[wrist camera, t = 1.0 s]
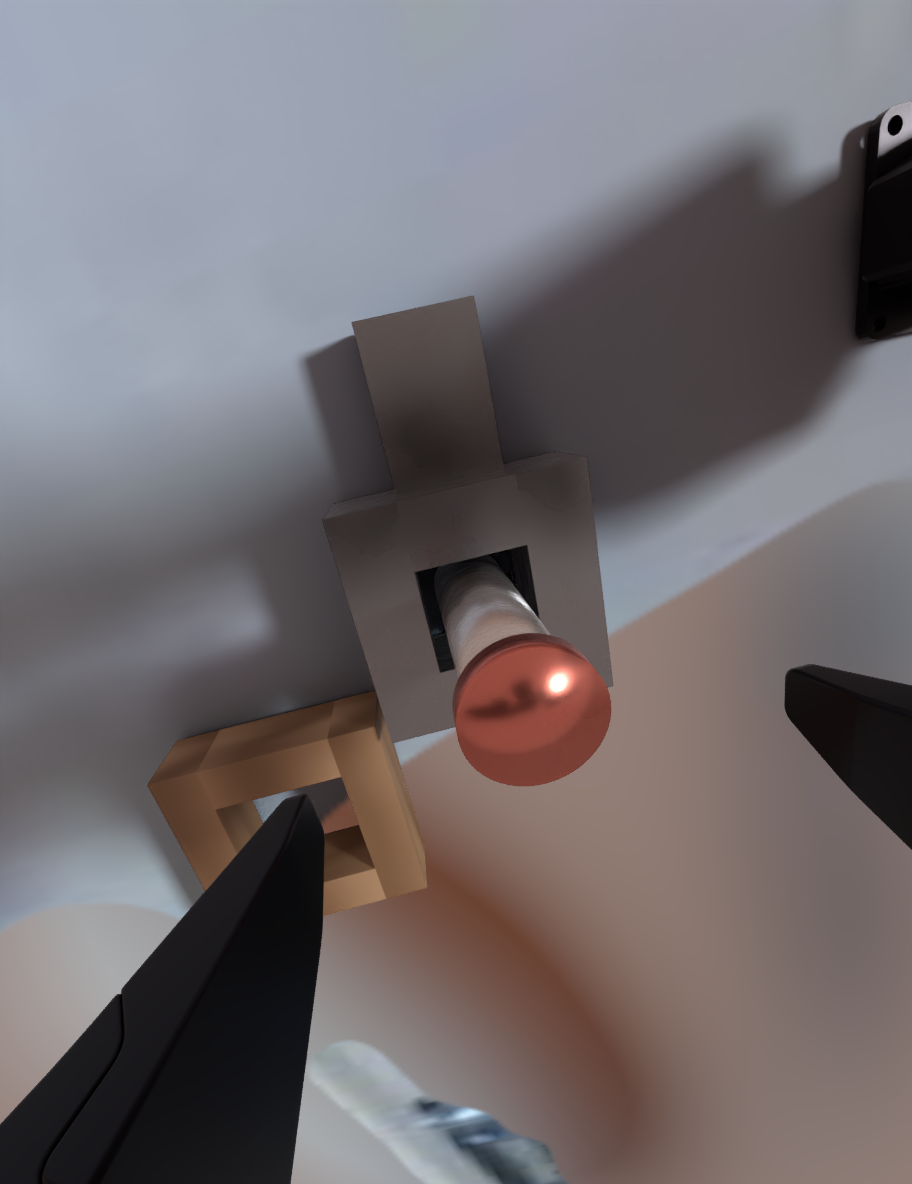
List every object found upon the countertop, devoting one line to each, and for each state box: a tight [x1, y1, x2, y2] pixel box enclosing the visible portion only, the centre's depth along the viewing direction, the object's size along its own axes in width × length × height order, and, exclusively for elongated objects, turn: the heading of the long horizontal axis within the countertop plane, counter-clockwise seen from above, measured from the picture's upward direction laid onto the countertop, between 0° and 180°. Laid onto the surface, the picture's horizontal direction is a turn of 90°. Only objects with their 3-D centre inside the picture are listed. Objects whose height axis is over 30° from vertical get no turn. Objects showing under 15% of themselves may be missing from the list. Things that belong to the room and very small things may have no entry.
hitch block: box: [322, 296, 613, 743], centre depth 16 cm, size 8×13×3 cm, turn 12°
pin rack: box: [148, 690, 427, 916], centre depth 20 cm, size 8×8×2 cm
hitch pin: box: [434, 554, 611, 786], centre depth 14 cm, size 3×3×9 cm
